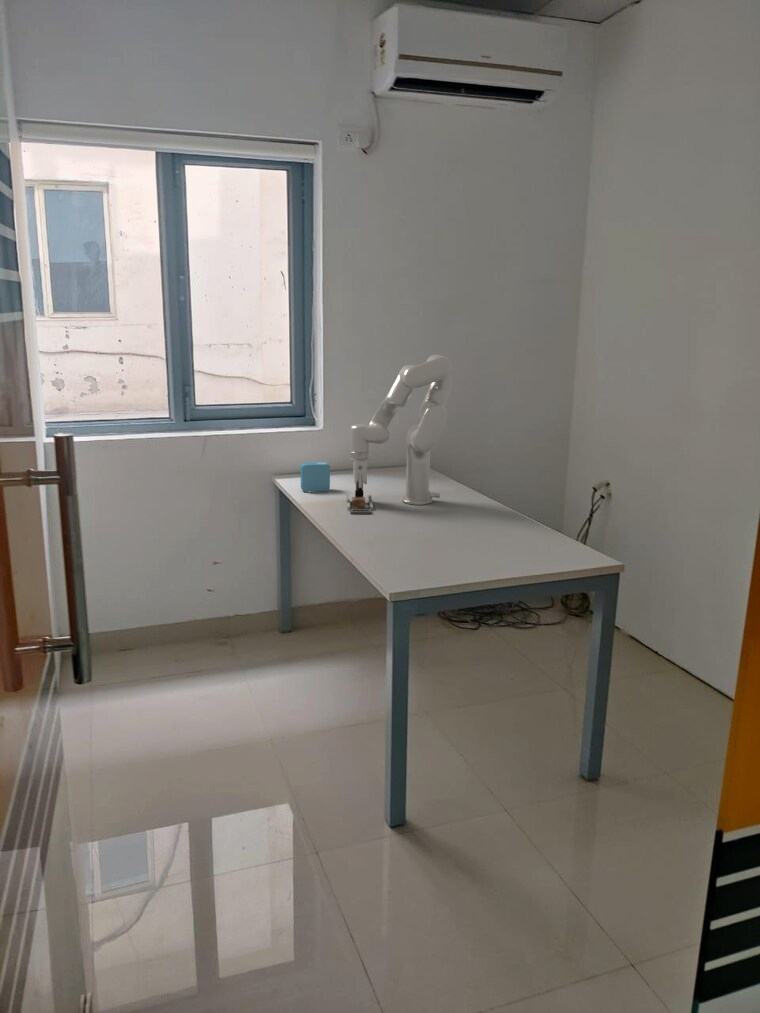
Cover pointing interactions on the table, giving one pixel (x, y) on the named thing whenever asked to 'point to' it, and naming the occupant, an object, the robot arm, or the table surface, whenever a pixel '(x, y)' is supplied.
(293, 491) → the table surface
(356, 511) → the tray
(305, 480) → the data package
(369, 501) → the walled lane
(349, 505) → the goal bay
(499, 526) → the table surface
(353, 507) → the walnut block
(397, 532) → the table surface
